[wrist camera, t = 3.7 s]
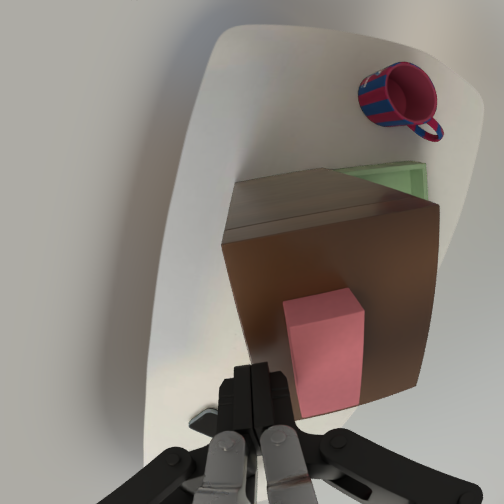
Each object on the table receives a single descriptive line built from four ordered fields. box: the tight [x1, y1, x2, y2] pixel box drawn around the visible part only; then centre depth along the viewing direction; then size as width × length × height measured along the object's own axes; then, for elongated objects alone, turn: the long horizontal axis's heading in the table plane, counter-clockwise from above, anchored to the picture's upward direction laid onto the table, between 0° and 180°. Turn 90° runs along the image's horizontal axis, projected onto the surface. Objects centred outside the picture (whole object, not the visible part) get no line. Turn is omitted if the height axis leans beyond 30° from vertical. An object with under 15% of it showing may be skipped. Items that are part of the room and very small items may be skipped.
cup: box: [358, 62, 444, 142], centre depth 25 cm, size 7×10×7 cm
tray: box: [333, 161, 428, 200], centre depth 32 cm, size 16×11×4 cm
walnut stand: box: [221, 168, 440, 421], centre depth 23 cm, size 12×10×21 cm
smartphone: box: [189, 409, 218, 438], centre depth 45 cm, size 7×1×15 cm
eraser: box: [283, 288, 365, 418], centre depth 12 cm, size 6×3×2 cm, turn 11°
